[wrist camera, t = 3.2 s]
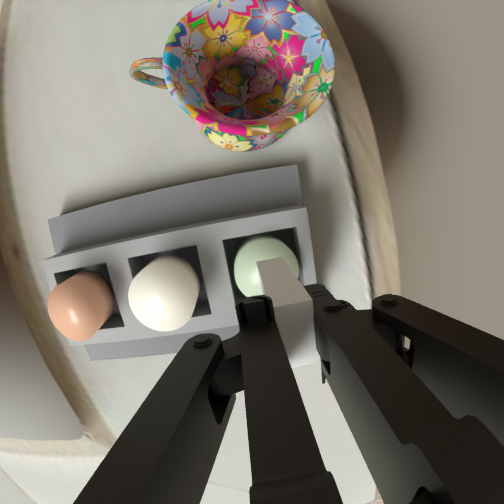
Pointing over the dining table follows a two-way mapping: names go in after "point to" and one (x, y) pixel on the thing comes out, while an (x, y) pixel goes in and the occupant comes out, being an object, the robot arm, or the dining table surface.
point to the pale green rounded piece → (259, 250)
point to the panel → (179, 250)
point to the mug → (245, 69)
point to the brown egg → (81, 305)
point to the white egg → (165, 293)
